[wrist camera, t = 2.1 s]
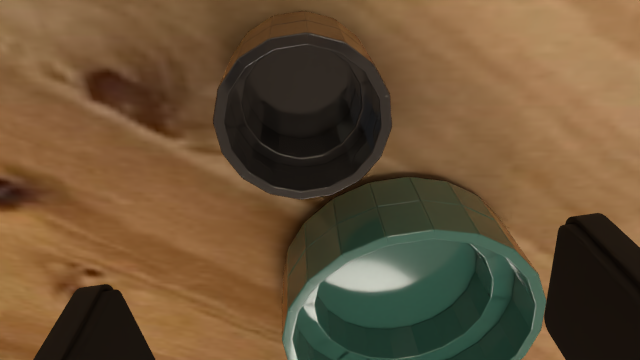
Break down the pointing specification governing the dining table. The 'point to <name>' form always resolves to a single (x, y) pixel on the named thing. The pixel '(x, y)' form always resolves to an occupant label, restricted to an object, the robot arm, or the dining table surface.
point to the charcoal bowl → (302, 107)
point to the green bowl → (408, 279)
